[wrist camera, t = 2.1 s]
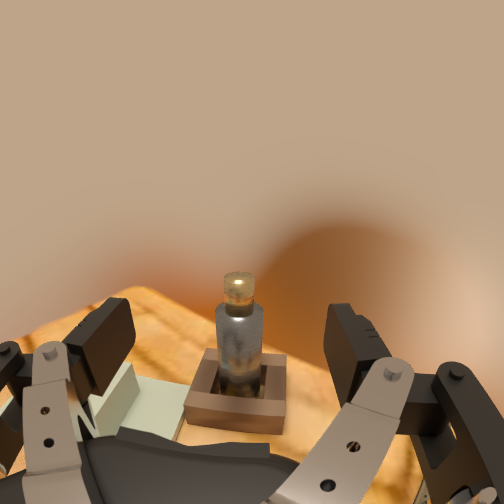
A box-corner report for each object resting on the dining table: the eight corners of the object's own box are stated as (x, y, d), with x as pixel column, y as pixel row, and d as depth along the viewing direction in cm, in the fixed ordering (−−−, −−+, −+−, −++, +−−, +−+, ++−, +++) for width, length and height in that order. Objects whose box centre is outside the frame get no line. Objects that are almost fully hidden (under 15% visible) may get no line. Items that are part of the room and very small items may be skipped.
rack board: (-1, 419, 16) (-22, 387, 14) (58, 356, 29) (47, 325, 28) (152, 501, 14) (133, 477, 12) (194, 392, 27) (188, 358, 26)
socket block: (187, 423, 23) (183, 404, 22) (208, 367, 31) (206, 347, 30) (281, 434, 22) (284, 416, 21) (284, 374, 30) (286, 354, 30)
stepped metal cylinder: (217, 409, 25) (208, 286, 21) (224, 383, 29) (219, 267, 24) (257, 414, 25) (262, 290, 20) (261, 387, 28) (266, 269, 24)
